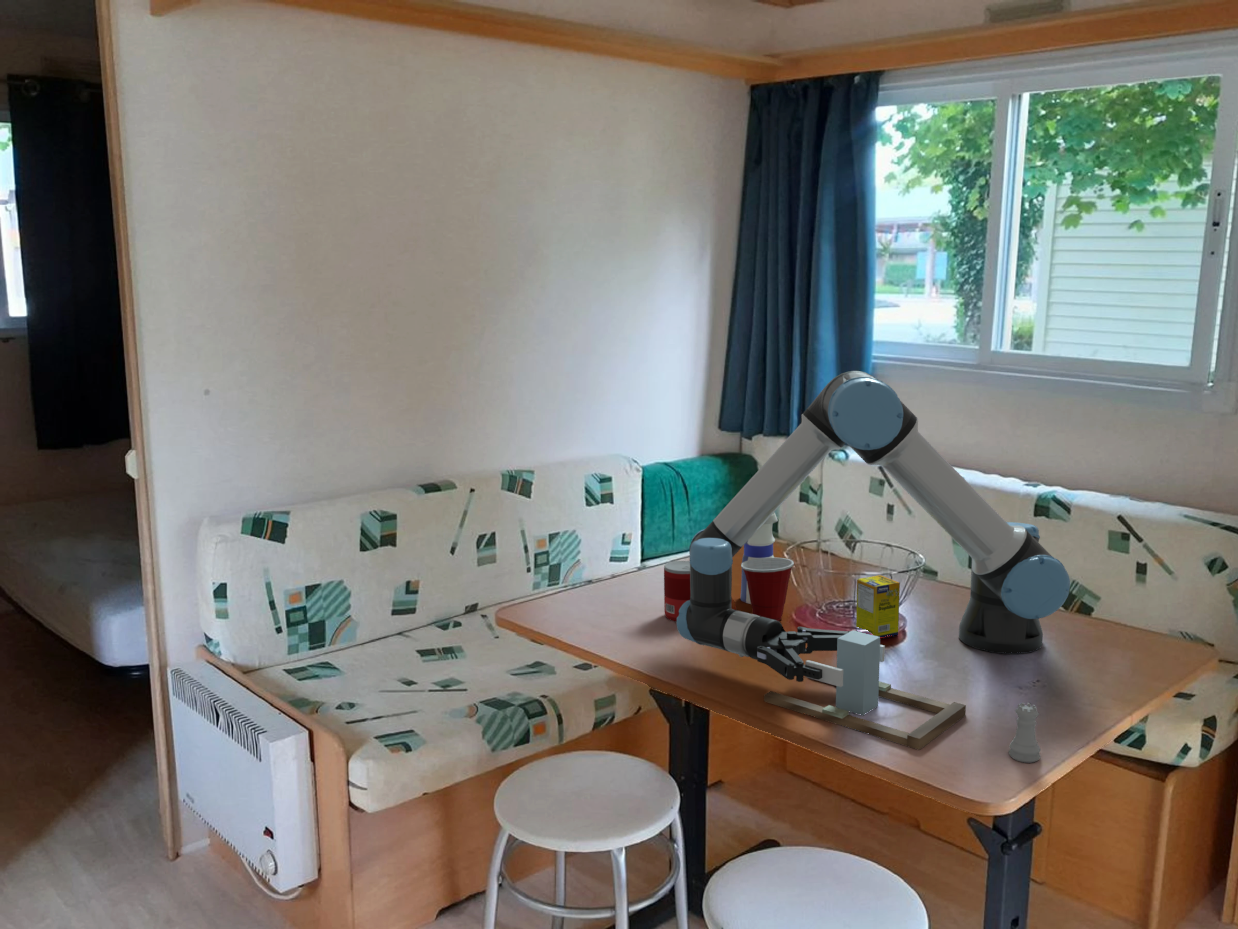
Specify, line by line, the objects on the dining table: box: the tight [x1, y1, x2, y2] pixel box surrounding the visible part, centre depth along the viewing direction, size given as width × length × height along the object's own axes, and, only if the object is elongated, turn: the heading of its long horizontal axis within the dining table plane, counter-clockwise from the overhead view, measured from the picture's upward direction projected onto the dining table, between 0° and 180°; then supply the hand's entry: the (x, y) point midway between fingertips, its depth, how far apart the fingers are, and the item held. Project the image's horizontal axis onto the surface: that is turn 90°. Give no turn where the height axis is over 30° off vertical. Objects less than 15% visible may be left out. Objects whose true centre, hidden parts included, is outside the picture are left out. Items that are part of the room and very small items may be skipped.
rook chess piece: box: [1008, 702, 1042, 764], centre depth 157 cm, size 4×4×8 cm
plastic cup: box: [740, 556, 795, 622], centre depth 219 cm, size 11×11×12 cm
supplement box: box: [855, 574, 901, 637], centre depth 208 cm, size 6×6×11 cm
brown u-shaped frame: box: [763, 680, 967, 751], centre depth 175 cm, size 28×16×2 cm, turn 48°
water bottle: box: [739, 511, 779, 605], centre depth 230 cm, size 8×9×25 cm
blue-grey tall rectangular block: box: [835, 629, 881, 716], centre depth 175 cm, size 5×5×12 cm
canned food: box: [663, 560, 691, 623], centre depth 220 cm, size 8×8×11 cm
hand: (863, 665), depth 173 cm, fingers open, 13 cm apart
